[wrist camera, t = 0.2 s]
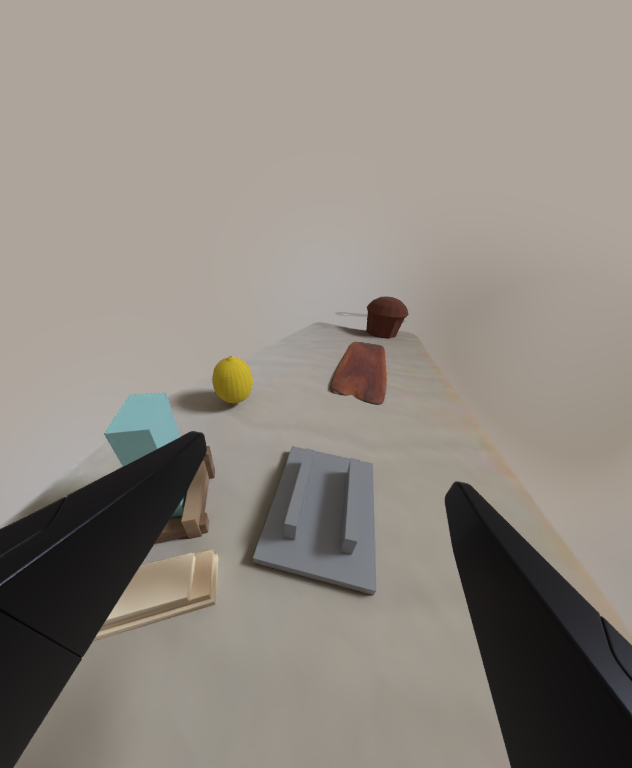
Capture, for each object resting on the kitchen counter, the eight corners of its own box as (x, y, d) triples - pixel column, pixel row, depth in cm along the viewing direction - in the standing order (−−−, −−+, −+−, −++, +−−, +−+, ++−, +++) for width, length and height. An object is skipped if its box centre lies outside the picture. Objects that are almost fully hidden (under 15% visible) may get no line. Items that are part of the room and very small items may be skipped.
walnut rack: (207, 534, 21) (199, 511, 18) (128, 551, 19) (109, 528, 17) (215, 468, 26) (209, 444, 24) (154, 477, 25) (142, 452, 22)
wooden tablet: (383, 410, 39) (386, 402, 38) (327, 395, 41) (328, 387, 40) (387, 349, 61) (389, 343, 60) (350, 341, 63) (352, 335, 62)
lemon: (209, 409, 34) (199, 361, 30) (229, 389, 39) (223, 345, 34) (243, 418, 33) (238, 370, 29) (260, 396, 38) (258, 352, 33)
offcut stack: (215, 605, 17) (209, 592, 15) (83, 645, 15) (59, 635, 13) (218, 559, 20) (213, 543, 18) (105, 587, 17) (87, 573, 16)
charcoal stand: (373, 595, 18) (384, 579, 16) (253, 562, 19) (251, 544, 17) (370, 468, 28) (377, 449, 26) (291, 451, 29) (292, 432, 27)
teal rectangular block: (188, 522, 21) (149, 429, 15) (158, 527, 21) (103, 433, 14) (195, 483, 25) (165, 392, 18) (170, 487, 24) (129, 394, 17)
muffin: (358, 334, 66) (366, 298, 61) (364, 323, 75) (371, 291, 69) (400, 343, 63) (412, 306, 58) (401, 331, 72) (412, 298, 67)
